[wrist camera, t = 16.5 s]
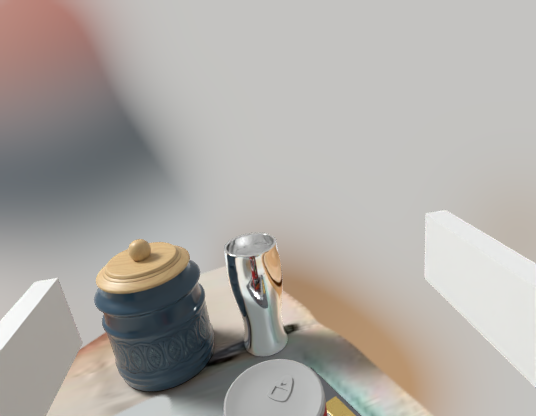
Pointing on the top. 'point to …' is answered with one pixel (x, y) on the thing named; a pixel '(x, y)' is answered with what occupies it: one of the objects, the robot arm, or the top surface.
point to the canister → (155, 315)
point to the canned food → (276, 391)
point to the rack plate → (336, 401)
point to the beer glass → (257, 291)
